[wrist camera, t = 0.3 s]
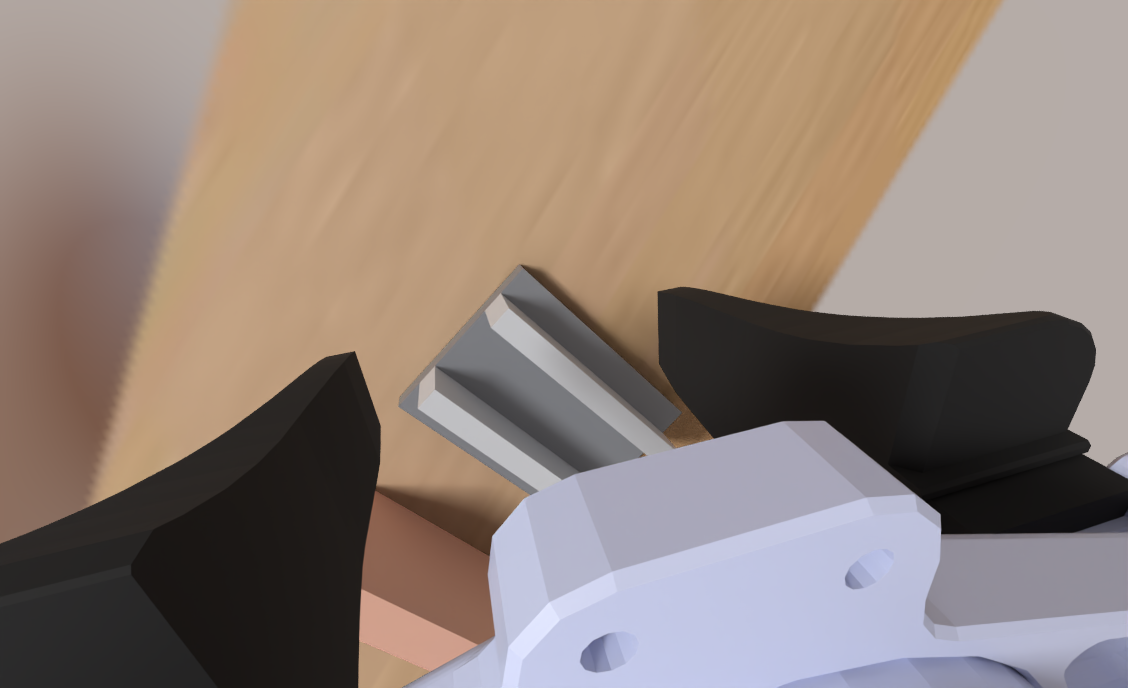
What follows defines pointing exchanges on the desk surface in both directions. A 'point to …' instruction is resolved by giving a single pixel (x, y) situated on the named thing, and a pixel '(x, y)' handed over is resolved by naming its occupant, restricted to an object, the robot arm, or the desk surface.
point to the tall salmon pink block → (421, 589)
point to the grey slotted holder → (538, 392)
